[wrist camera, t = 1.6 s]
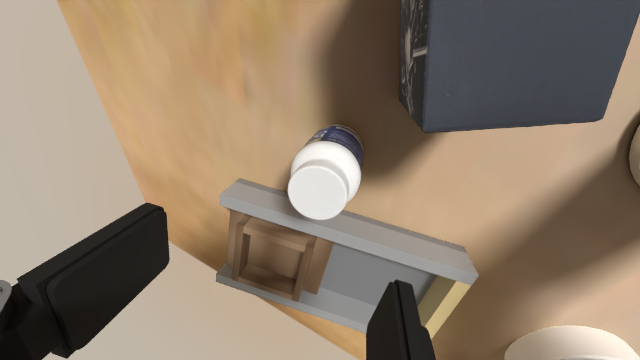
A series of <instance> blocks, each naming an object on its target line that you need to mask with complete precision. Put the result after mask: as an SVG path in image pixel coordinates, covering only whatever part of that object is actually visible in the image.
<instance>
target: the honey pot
mask: <svg viewBox="0 0 640 360" xmlns="http://www.w3.org/2000/svg"><path fill="white" fill-rule="evenodd" d="M504 360H640V357H639V356H638V355H637V354H636V353H635V352H634V351H633V350H632V348H631V347H630V346H629V345H628V344H627V343H626V342H624V341H623V340H621V339H620V338H619V337H617V336H616V335H613V334H611V333H608V332H606V331H603V330H600V329H595V328H590V327H585V326H556V327H547V328H544V329H540V330H536V331H532V332H530V333H528V334H526V335H524V336H522V337H519V338H518V339H517V340H516V341H514V342H513V343H512V344H511V345H510V346H509V348H508V349H507V351H506V352H505V358H504Z"/></svg>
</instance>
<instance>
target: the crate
mask: <svg viewBox="0 0 640 360" xmlns="http://www.w3.org/2000/svg"><path fill="white" fill-rule="evenodd" d="M333 245H334V242H333V241H330V240H327V239H323V238H320V237H317V236H314V235H311V234H308V233H305V232H301V231H298V230H295V229H292V228H289V227H286V226H283V225H279V224H276V223H273V222H270V221H267V220H264V219H261V218H257V217H254V216H251V215H248V214H245V213H242V212H239V211H236V210H232V209H230V223H229V237H228V251H227V265H229V266H232V267H233V269H232V280H234V281H237V282H240V283H243V284H246V285H249V286H252V287H255V288H258V289H261V290H264V291H266V292H269V293H272V294H275V295H278V296H281V297H284V298H287V299H290V300H293V301H296V302H298V301H299V298H300V295H301V292H302V290H303V291H306V292H309V293H312V294H315V295H317V293H318V290H319V287H320V284H321V281H322V278H323V275H324V272H325V269H326V266H327V263H328V260H329V257H330V254H331V251H332V248H333Z"/></svg>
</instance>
